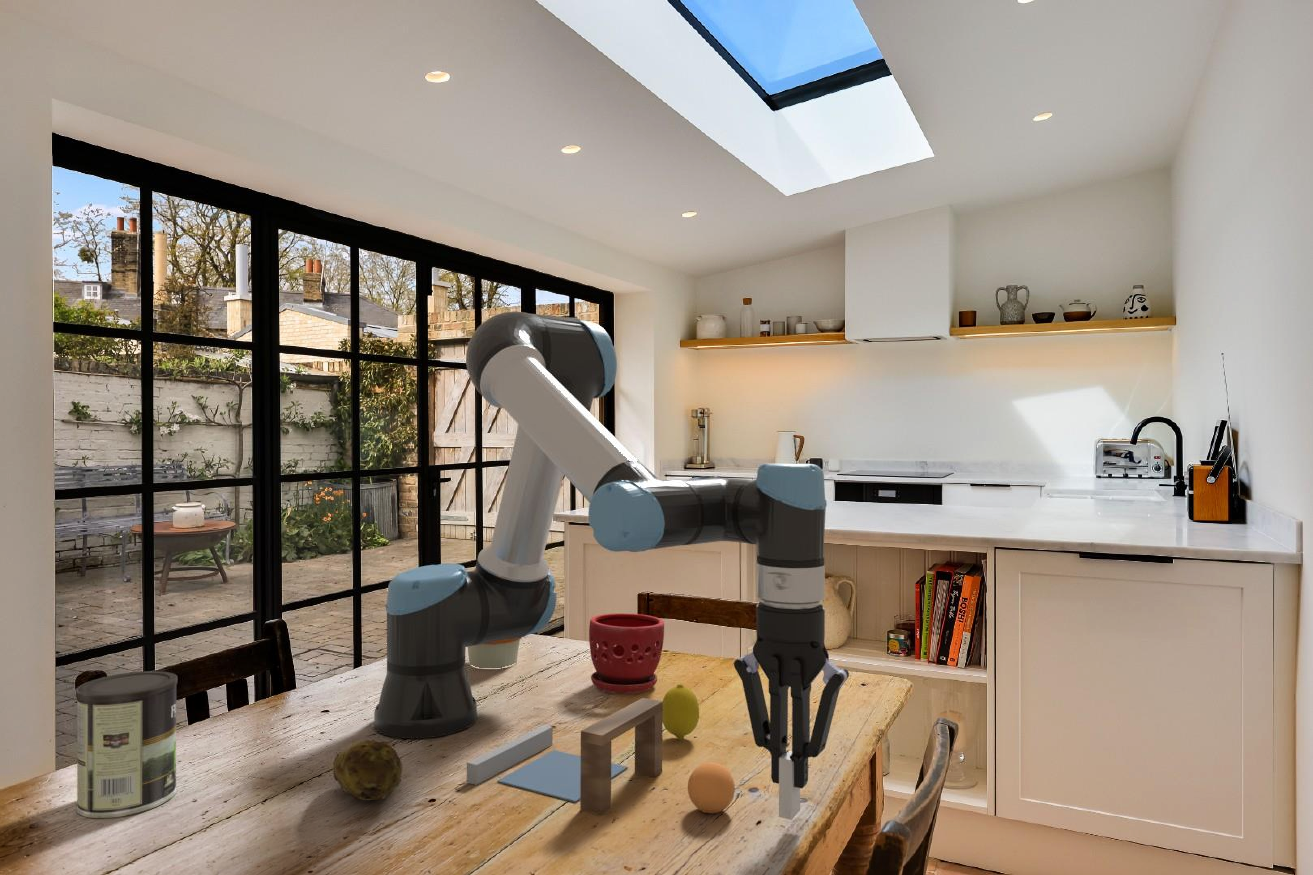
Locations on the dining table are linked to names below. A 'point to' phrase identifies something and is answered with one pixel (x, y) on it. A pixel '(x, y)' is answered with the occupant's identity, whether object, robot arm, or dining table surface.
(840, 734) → the dining table surface
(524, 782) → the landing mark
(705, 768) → the ball
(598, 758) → the bridge
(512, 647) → the reusable coffee cup
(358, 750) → the potato
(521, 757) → the stopper
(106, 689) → the coffee can
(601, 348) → the robot arm
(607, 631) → the plant pot
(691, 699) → the lemon
